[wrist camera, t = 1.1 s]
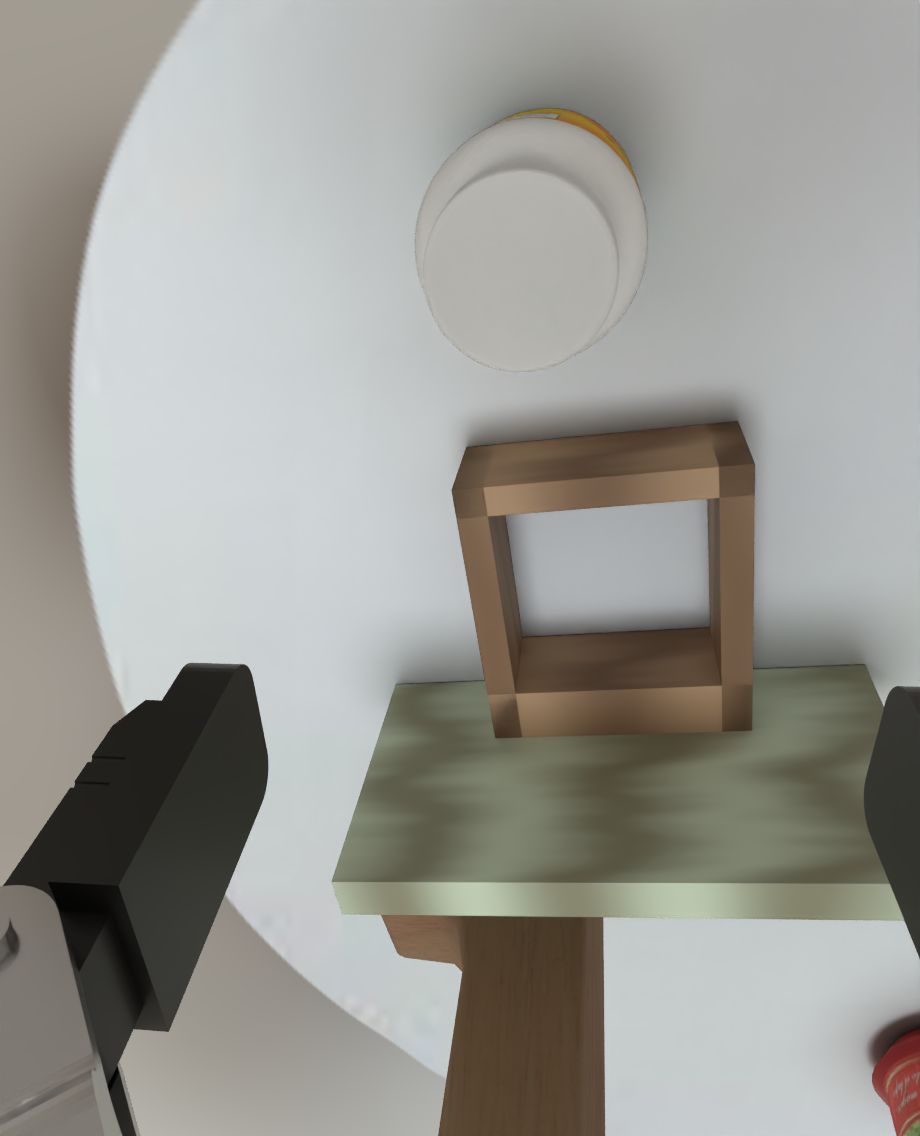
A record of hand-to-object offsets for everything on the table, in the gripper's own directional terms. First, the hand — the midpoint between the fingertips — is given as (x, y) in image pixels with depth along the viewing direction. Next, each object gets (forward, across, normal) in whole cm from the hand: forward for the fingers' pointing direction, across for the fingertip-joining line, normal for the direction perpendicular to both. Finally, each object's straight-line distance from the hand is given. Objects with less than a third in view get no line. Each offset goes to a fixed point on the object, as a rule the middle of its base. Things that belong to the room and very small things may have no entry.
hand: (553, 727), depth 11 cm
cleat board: (+19, -2, +9) cm, 21 cm away
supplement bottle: (+19, 0, -4) cm, 20 cm away
